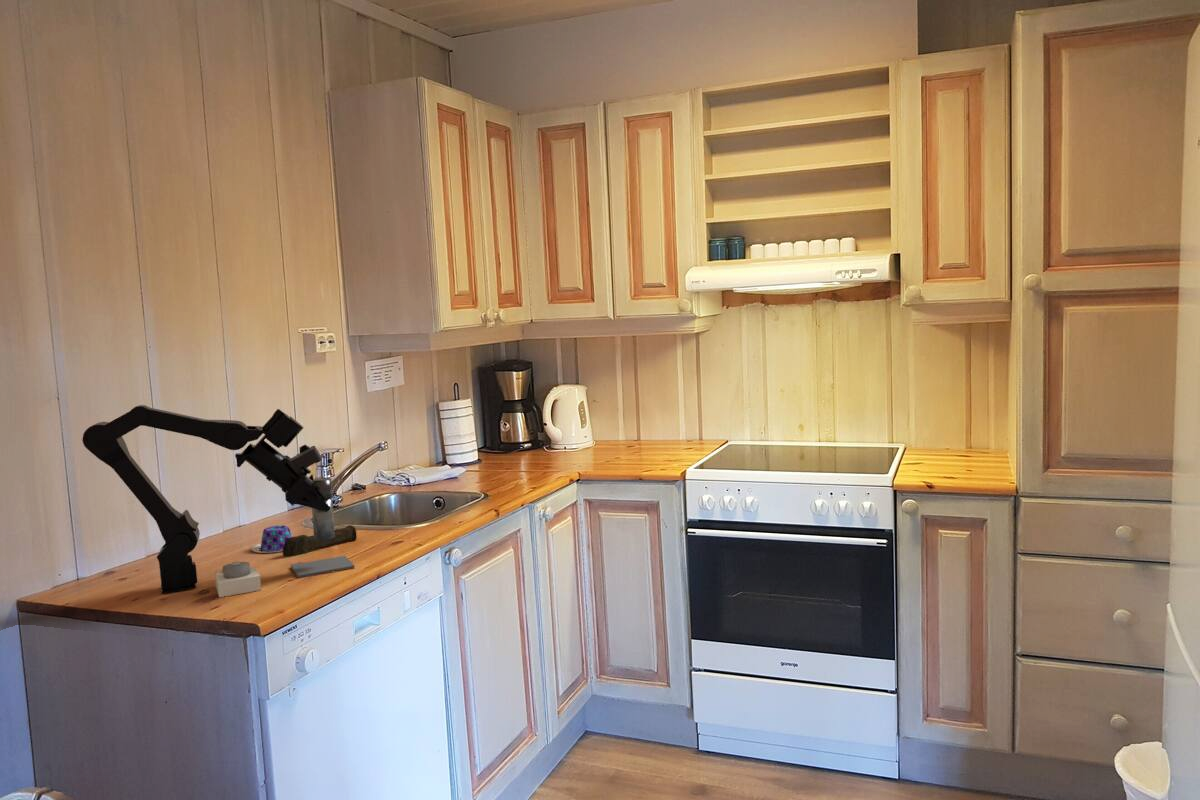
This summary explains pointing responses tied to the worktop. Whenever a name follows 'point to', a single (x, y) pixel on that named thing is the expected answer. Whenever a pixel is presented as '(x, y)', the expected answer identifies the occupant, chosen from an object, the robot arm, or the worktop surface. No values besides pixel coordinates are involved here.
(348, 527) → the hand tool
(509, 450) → the worktop surface
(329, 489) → the grey upright cylinder
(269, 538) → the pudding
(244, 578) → the block
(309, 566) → the rest mat
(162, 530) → the robot arm
